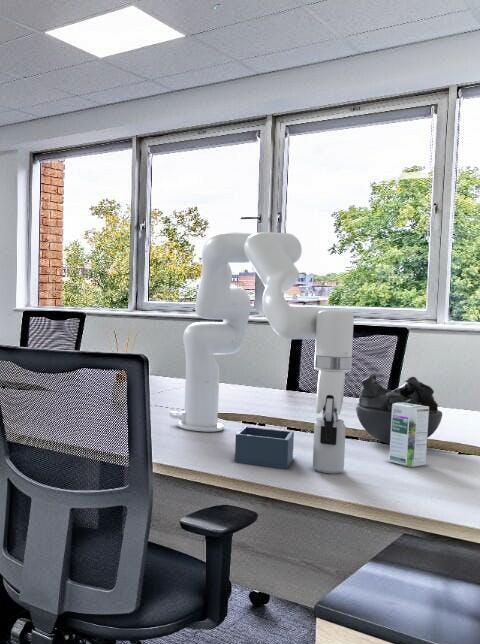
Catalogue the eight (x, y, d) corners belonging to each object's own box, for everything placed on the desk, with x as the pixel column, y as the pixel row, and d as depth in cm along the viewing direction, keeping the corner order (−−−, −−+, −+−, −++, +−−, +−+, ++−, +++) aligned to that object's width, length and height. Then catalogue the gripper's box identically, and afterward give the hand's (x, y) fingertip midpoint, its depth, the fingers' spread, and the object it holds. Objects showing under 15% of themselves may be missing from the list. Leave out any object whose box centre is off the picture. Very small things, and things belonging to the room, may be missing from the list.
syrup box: (387, 461, 170) (390, 403, 169) (403, 459, 173) (406, 401, 172) (410, 467, 165) (413, 406, 164) (426, 465, 167) (430, 405, 167)
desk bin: (234, 462, 168) (235, 434, 167) (242, 452, 177) (243, 426, 177) (287, 469, 162) (288, 440, 161) (292, 458, 172) (293, 431, 171)
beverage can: (347, 475, 157) (350, 422, 156) (316, 473, 158) (319, 421, 158) (338, 468, 163) (340, 417, 163) (308, 466, 165) (311, 416, 164)
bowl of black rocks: (459, 451, 183) (463, 380, 182) (399, 455, 177) (403, 382, 176) (392, 435, 202) (396, 371, 201) (337, 438, 196) (340, 372, 195)
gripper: (317, 359, 169) (314, 432, 170) (311, 366, 154) (307, 446, 155) (352, 361, 165) (349, 436, 166) (350, 368, 150) (345, 450, 151)
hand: (329, 440), depth 160 cm, fingers closed on beverage can, 6 cm apart
